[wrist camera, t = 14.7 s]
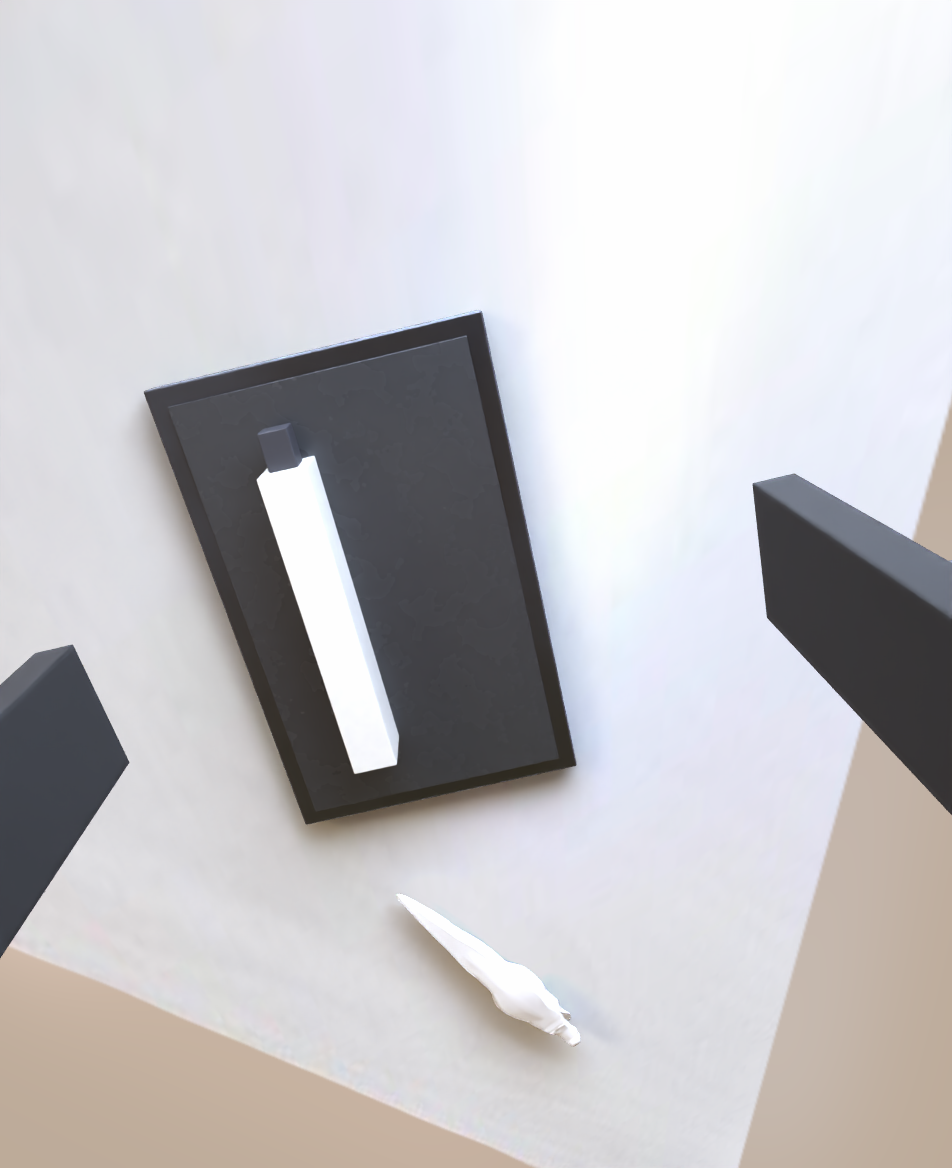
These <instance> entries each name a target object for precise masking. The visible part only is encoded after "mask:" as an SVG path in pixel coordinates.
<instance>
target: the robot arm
mask: <svg viewBox="0 0 952 1168" xmlns="http://www.w3.org/2000/svg"><path fill="white" fill-rule="evenodd" d="M753 493H754V502H755V511H756V520H757V529H758V539H759V548H760V557H761V566H762V575H763V585H764V594H765V603H766V612H767V618H768V619H769V620H770V621H771V622H772V624H773V625H774V626H775V627H776V628H777V629H778V630H779V631H780V632H781V633H782V634H783V635H784V636H785V637H786V638H787V640H788V641H789V642H790V643H791V644H792V645H793V646H794V647H795V648H796V649H797V650H798V651H799V652H800V653H801V655H802V656H803V657H804V658H805V659H806V660H807V661H808V662H809V663H810V664H811V665H812V666H813V667H814V668H815V669H816V671H817V672H818V673H819V674H820V675H821V676H822V677H823V678H824V679H825V680H826V681H827V682H828V683H829V684H830V686H831V687H832V688H833V689H834V690H835V691H836V692H837V693H838V694H839V695H840V696H841V697H842V698H843V699H844V700H845V702H846V703H847V704H848V705H849V706H850V707H851V708H852V709H853V710H854V711H855V712H856V713H857V714H858V715H859V717H860V718H861V719H862V720H863V721H864V722H865V723H866V724H867V725H868V726H869V727H870V728H871V729H872V730H873V731H874V733H875V734H876V735H877V736H878V737H879V738H880V739H881V740H882V741H883V742H884V743H885V744H886V745H887V746H888V747H889V749H890V750H891V751H892V752H893V753H894V754H895V755H896V756H897V757H898V758H899V759H900V760H901V761H902V762H903V764H904V765H905V766H906V767H907V768H908V769H909V770H910V771H911V772H912V773H913V774H914V775H915V776H916V777H917V778H918V780H919V781H920V782H921V783H922V784H923V785H924V786H925V787H926V788H927V789H928V790H929V791H930V792H931V793H932V794H933V796H934V797H936V799H937V800H938V801H939V802H940V803H941V804H942V805H943V806H944V807H945V808H946V810H948V812H949V813H950V814H951V815H952V560H951V561H947V560H946V559H944V558H942V557H940V556H939V555H937V554H935V553H933V552H932V551H930V550H928V549H926V548H925V547H923V546H921V545H919V544H918V543H916V542H914V541H912V540H910V539H909V538H907V537H905V536H903V535H902V534H900V533H898V532H896V531H895V530H893V529H891V528H889V527H888V526H886V525H884V524H882V523H881V522H879V521H877V520H875V519H873V518H872V517H870V516H868V515H866V514H865V513H863V512H861V511H859V510H858V509H856V508H854V507H852V506H851V505H849V504H847V503H845V502H843V501H842V500H840V499H838V498H836V497H835V496H833V495H831V494H829V493H828V492H826V491H824V490H822V489H821V488H819V487H817V486H815V485H814V484H812V483H810V482H808V481H806V480H805V479H803V478H801V477H799V476H798V475H796V474H791V475H786V476H782V477H778V478H774V479H769V480H765V481H761V482H757V483H753ZM128 764H129V761H128V759H127V756H126V754H125V752H124V750H123V748H122V746H121V744H120V742H119V740H118V738H117V736H116V734H115V732H114V729H113V727H112V725H111V723H110V721H109V719H108V717H107V715H106V713H105V711H104V709H103V707H102V704H101V702H100V700H99V698H98V696H97V694H96V692H95V690H94V688H93V686H92V684H91V682H90V679H89V677H88V675H87V673H86V671H85V669H84V667H83V665H82V663H81V661H80V659H79V657H78V655H77V652H76V650H75V648H74V646H73V645H68V646H64V647H60V648H56V649H52V650H47V651H43V652H39V653H35V654H34V655H33V656H32V657H31V658H29V659H28V660H27V661H26V662H25V663H24V664H23V665H22V666H21V667H20V668H18V669H17V670H16V671H15V672H14V673H13V674H12V675H11V676H10V677H9V678H7V679H6V680H5V681H4V682H3V683H2V684H1V685H0V958H1V956H2V955H3V953H4V952H5V950H6V949H7V947H8V946H9V944H10V943H11V941H12V940H13V938H14V937H15V935H16V934H17V932H18V931H19V929H20V928H21V926H22V925H23V923H24V922H25V920H26V918H27V917H28V915H29V914H30V912H31V911H32V909H33V908H34V906H35V905H36V903H37V902H38V900H39V899H40V897H41V896H42V894H43V893H44V891H45V890H46V888H47V887H48V885H49V884H50V882H51V881H52V879H53V878H54V876H55V875H56V873H57V871H58V870H59V868H60V867H61V865H62V864H63V862H64V861H65V859H66V858H67V856H68V855H69V853H70V852H71V850H72V849H73V847H74V846H75V844H76V843H77V841H78V840H79V838H80V837H81V835H82V834H83V832H84V831H85V829H86V827H87V826H88V824H89V823H90V821H91V820H92V818H93V817H94V815H95V814H96V812H97V811H98V809H99V808H100V806H101V805H102V803H103V802H104V800H105V799H106V797H107V796H108V794H109V793H110V791H111V790H112V788H113V787H114V785H115V783H116V782H117V780H118V779H119V777H120V776H121V774H122V773H123V771H124V770H125V768H126V767H127V765H128Z"/></svg>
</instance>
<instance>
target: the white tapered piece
mask: <svg viewBox="0 0 952 1168" xmlns="http://www.w3.org/2000/svg"><path fill="white" fill-rule="evenodd" d="M396 897H397V899H398V900H399V901H400V902H401V903H402V904H403V905H404V906H405V907H406V909H407V910H408V911H409V912H410V913H411V914H412V915H413V916H414V917H415V918H416V919H417V920H418V921H419V922H420V923H421V924H422V925H423V926H424V927H425V928H426V929H427V930H428V932H429V933H430V934H431V935H432V936H433V937H434V938H435V939H436V940H437V941H439V942H440V943H441V944H442V945H443V946H444V947H445V948H446V949H447V950H448V951H449V953H450V954H451V955H452V956H453V957H454V958H455V959H456V960H457V961H458V962H459V963H460V964H461V965H462V966H463V967H464V968H465V969H466V970H467V971H468V972H469V973H470V974H472V975H473V976H474V977H475V978H476V979H477V980H479V981H480V982H481V983H482V984H483V985H484V986H485V987H486V988H487V989H488V990H489V991H491V993H492V998H493V1001H494V1003H495V1005H496V1006H497V1007H498V1008H499V1009H500V1010H502V1011H503V1012H504V1013H505V1014H507V1015H509V1016H511V1017H513V1018H517V1019H520V1020H523V1021H526V1022H528V1023H530V1024H532V1025H533V1026H534V1027H536V1028H538V1029H540V1030H543V1031H545V1032H546V1033H549V1034H551V1035H552V1034H555V1035H558V1036H560V1037H561V1038H562V1039H563V1040H564V1041H565V1042H567V1043H569V1044H570V1045H571V1046H576V1045H577V1044H579V1043H580V1033H578V1032H577V1028H576V1027H574V1026H572V1025H570V1024H569V1023H568V1020H570V1019H571V1015H570V1013H569V1012H567V1011H565V1010H564V1009H562V1008H561V1007H560V1006H559V1001H558V1000H557V999H556V998H555V997H554V996H553V995H552V994H550V993H549V992H548V991H547V989H546V988H545V987H544V985H543V982H542V981H541V980H540V979H539V978H538V977H537V976H536V975H535V974H533V973H532V972H531V971H530V970H529V969H528V968H526V967H524V966H523V965H519V964H515V963H510V962H506V961H505V960H504V959H502V958H501V957H500V956H499V955H498V954H497V953H496V952H495V951H494V950H492V949H491V948H490V947H488V946H487V945H486V944H484V943H483V942H482V941H481V940H479V939H477V938H475V937H474V936H472V935H470V934H468V933H467V932H465V931H463V930H461V929H459V928H458V927H456V926H455V925H453V924H452V923H451V922H449V921H448V920H447V919H445V918H444V917H442V916H441V915H439V914H438V913H436V912H434V911H433V910H431V909H429V908H427V907H426V906H424V905H422V904H420V903H418V902H416V901H415V900H413V899H411V898H409V897H407V896H404V895H402V894H396Z"/></svg>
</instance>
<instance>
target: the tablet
mask: <svg viewBox="0 0 952 1168" xmlns="http://www.w3.org/2000/svg"><path fill="white" fill-rule="evenodd" d="M144 394H145V397H146V400H147V402H148V405H149V408H150V410H151V413H152V416H153V418H154V421H155V424H156V426H157V429H158V432H159V434H160V437H161V440H162V442H163V445H164V448H165V450H166V453H167V456H168V458H169V461H170V464H171V466H172V469H173V472H174V474H175V477H176V480H177V482H178V485H179V488H180V490H181V493H182V496H183V498H184V501H185V504H186V506H187V509H188V512H189V514H190V517H191V520H192V522H193V525H194V528H195V530H196V533H197V536H198V538H199V541H200V544H201V546H202V549H203V552H204V554H205V557H206V560H207V562H208V565H209V568H210V570H211V573H212V576H213V578H214V581H215V584H216V586H217V589H218V592H219V594H220V597H221V600H222V602H223V605H224V608H225V610H226V613H227V616H228V618H229V621H230V624H231V626H232V629H233V632H234V634H235V637H236V640H237V642H238V645H239V648H240V650H241V653H242V656H243V658H244V661H245V664H246V666H247V669H248V672H249V674H250V677H251V680H252V682H253V685H254V688H255V690H256V693H257V696H258V698H259V701H260V704H261V706H262V709H263V712H264V714H265V717H266V720H267V722H268V725H269V728H270V730H271V733H272V736H273V738H274V741H275V744H276V746H277V749H278V752H279V754H280V757H281V760H282V762H283V765H284V768H285V770H286V773H287V776H288V778H289V781H290V784H291V786H292V789H293V792H294V794H295V797H296V800H297V802H298V805H299V808H300V810H301V813H302V816H303V818H304V821H305V824H312V823H316V822H321V821H325V820H330V819H334V818H339V817H344V816H348V815H353V814H357V813H362V812H367V811H371V810H376V809H380V808H385V807H389V806H394V805H399V804H403V803H408V802H412V801H417V800H422V799H426V798H431V797H435V796H440V795H444V794H449V793H454V792H458V791H463V790H467V789H472V788H477V787H481V786H486V785H490V784H495V783H499V782H504V781H509V780H513V779H518V778H522V777H527V776H532V775H536V774H541V773H545V772H550V771H555V770H559V769H564V768H568V767H573V766H576V759H575V754H574V749H573V745H572V740H571V735H570V730H569V726H568V721H567V716H566V711H565V706H564V702H563V697H562V692H561V687H560V683H559V678H558V673H557V668H556V663H555V659H554V654H553V649H552V644H551V640H550V635H549V630H548V625H547V620H546V616H545V611H544V606H543V601H542V596H541V592H540V587H539V582H538V577H537V573H536V568H535V563H534V558H533V553H532V549H531V544H530V539H529V534H528V530H527V525H526V520H525V515H524V510H523V506H522V501H521V496H520V491H519V487H518V482H517V477H516V472H515V467H514V463H513V458H512V453H511V448H510V444H509V439H508V434H507V429H506V424H505V420H504V415H503V410H502V405H501V401H500V396H499V391H498V386H497V381H496V377H495V372H494V367H493V362H492V358H491V353H490V348H489V343H488V338H487V334H486V329H485V324H484V319H483V315H482V311H480V310H476V311H472V312H468V313H464V314H460V315H455V316H451V317H447V318H443V319H439V320H435V321H430V322H426V323H422V324H418V325H414V326H410V327H405V328H401V329H397V330H393V331H389V332H385V333H380V334H376V335H372V336H368V337H364V338H360V339H355V340H351V341H347V342H343V343H339V344H334V345H330V346H326V347H322V348H318V349H314V350H309V351H305V352H301V353H297V354H293V355H289V356H284V357H280V358H276V359H272V360H268V361H264V362H259V363H255V364H251V365H247V366H243V367H239V368H234V369H230V370H226V371H222V372H218V373H214V374H209V375H205V376H201V377H197V378H193V379H189V380H184V381H180V382H176V383H172V384H168V385H164V386H159V387H155V388H151V389H149V390H146V391H144ZM287 423H291V424H292V427H293V430H294V434H295V437H296V440H297V443H298V447H299V450H300V453H301V456H302V458H307V457H311V456H315V459H316V462H317V466H318V469H319V472H320V476H321V479H322V482H323V485H324V489H325V492H326V495H327V499H328V502H329V505H330V509H331V512H332V515H333V519H334V522H335V525H336V529H337V532H338V535H339V539H340V542H341V545H342V549H343V552H344V555H345V558H346V562H347V565H348V568H349V572H350V575H351V578H352V582H353V585H354V588H355V592H356V595H357V598H358V602H359V605H360V608H361V612H362V615H363V618H364V622H365V625H366V628H367V632H368V635H369V638H370V641H371V645H372V648H373V651H374V655H375V658H376V661H377V665H378V668H379V671H380V675H381V678H382V681H383V685H384V688H385V691H386V695H387V698H388V701H389V705H390V708H391V711H392V714H393V718H394V721H395V724H396V728H397V731H398V734H399V743H398V756H397V765H394V766H389V767H385V768H380V769H376V770H371V771H366V772H362V773H357V774H354V771H353V768H352V765H351V762H350V759H349V756H348V753H347V750H346V747H345V744H344V741H343V738H342V735H341V732H340V729H339V726H338V723H337V720H336V717H335V714H334V711H333V708H332V705H331V702H330V699H329V696H328V693H327V690H326V687H325V684H324V681H323V678H322V675H321V672H320V669H319V666H318V663H317V660H316V657H315V654H314V651H313V648H312V645H311V642H310V639H309V636H308V633H307V630H306V627H305V624H304V621H303V618H302V615H301V612H300V609H299V606H298V603H297V600H296V597H295V594H294V591H293V588H292V585H291V582H290V579H289V576H288V573H287V570H286V567H285V564H284V561H283V558H282V555H281V552H280V549H279V546H278V543H277V540H276V537H275V534H274V531H273V528H272V525H271V522H270V519H269V516H268V513H267V510H266V507H265V504H264V501H263V498H262V495H261V492H260V489H259V486H258V483H257V479H258V478H259V477H260V476H261V474H262V473H263V472H264V471H265V470H266V469H267V465H266V462H265V459H264V456H263V453H262V450H261V447H260V444H259V440H258V437H257V434H258V433H259V432H260V431H262V430H263V429H265V428H269V427H274V426H278V425H282V424H287Z"/></svg>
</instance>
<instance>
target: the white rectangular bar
mask: <svg viewBox="0 0 952 1168" xmlns="http://www.w3.org/2000/svg"><path fill="white" fill-rule="evenodd" d="M257 437H258V440H259V444H260V447H261V450H262V453H263V456H264V459H265V462H266V465H267V469H266V470H265V471H264V472H263V473H262V474H261V476H260V477H259V478H258V479H257V483H258V486H259V489H260V492H261V495H262V498H263V501H264V504H265V507H266V510H267V513H268V516H269V519H270V522H271V525H272V528H273V531H274V534H275V537H276V540H277V543H278V546H279V549H280V552H281V555H282V558H283V561H284V564H285V567H286V570H287V573H288V576H289V579H290V582H291V585H292V588H293V591H294V594H295V597H296V600H297V603H298V606H299V609H300V612H301V615H302V618H303V621H304V624H305V627H306V630H307V633H308V636H309V639H310V642H311V645H312V648H313V651H314V654H315V657H316V660H317V663H318V666H319V669H320V672H321V675H322V678H323V681H324V684H325V687H326V690H327V693H328V696H329V699H330V702H331V705H332V708H333V711H334V714H335V717H336V720H337V723H338V726H339V729H340V732H341V735H342V738H343V741H344V744H345V747H346V750H347V753H348V756H349V759H350V762H351V765H352V768H353V771H354V774H357V773H362V772H366V771H371V770H376V769H380V768H385V767H389V766H394V765H397V756H398V743H399V734H398V731H397V728H396V724H395V721H394V718H393V714H392V711H391V708H390V705H389V701H388V698H387V695H386V691H385V688H384V685H383V681H382V678H381V675H380V671H379V668H378V665H377V661H376V658H375V655H374V651H373V648H372V645H371V641H370V638H369V635H368V632H367V628H366V625H365V622H364V618H363V615H362V612H361V608H360V605H359V602H358V598H357V595H356V592H355V588H354V585H353V582H352V578H351V575H350V572H349V568H348V565H347V562H346V558H345V555H344V552H343V549H342V545H341V542H340V539H339V535H338V532H337V529H336V525H335V522H334V519H333V515H332V512H331V509H330V505H329V502H328V499H327V495H326V492H325V489H324V485H323V482H322V479H321V476H320V472H319V469H318V466H317V462H316V459H315V456H311V457H307V458H302V456H301V453H300V450H299V447H298V443H297V440H296V437H295V434H294V430H293V427H292V424H291V423H287V424H282V425H278V426H274V427H269V428H265V429H263V430H262V431H260V432H259V433H258V434H257Z"/></svg>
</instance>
